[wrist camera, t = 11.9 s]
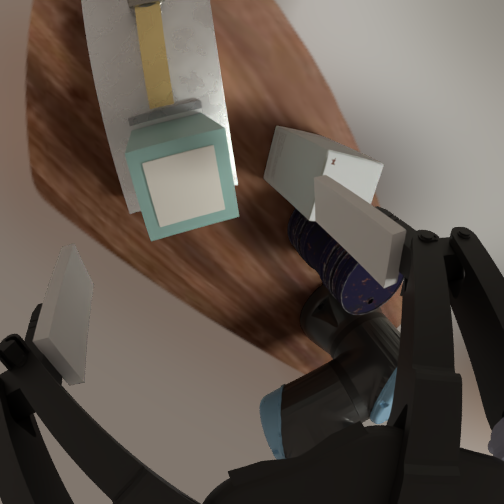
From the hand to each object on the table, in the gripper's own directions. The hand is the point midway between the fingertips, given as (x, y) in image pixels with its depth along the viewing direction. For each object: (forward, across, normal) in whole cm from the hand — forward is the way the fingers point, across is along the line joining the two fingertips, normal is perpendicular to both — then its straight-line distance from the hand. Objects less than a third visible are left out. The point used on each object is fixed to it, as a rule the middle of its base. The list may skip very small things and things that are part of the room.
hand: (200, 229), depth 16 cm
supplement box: (+22, +15, -5) cm, 27 cm away
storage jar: (+22, +18, -16) cm, 33 cm away
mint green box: (+17, 0, 0) cm, 17 cm away
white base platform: (+22, 0, +7) cm, 23 cm away
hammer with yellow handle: (+17, 0, +12) cm, 21 cm away
